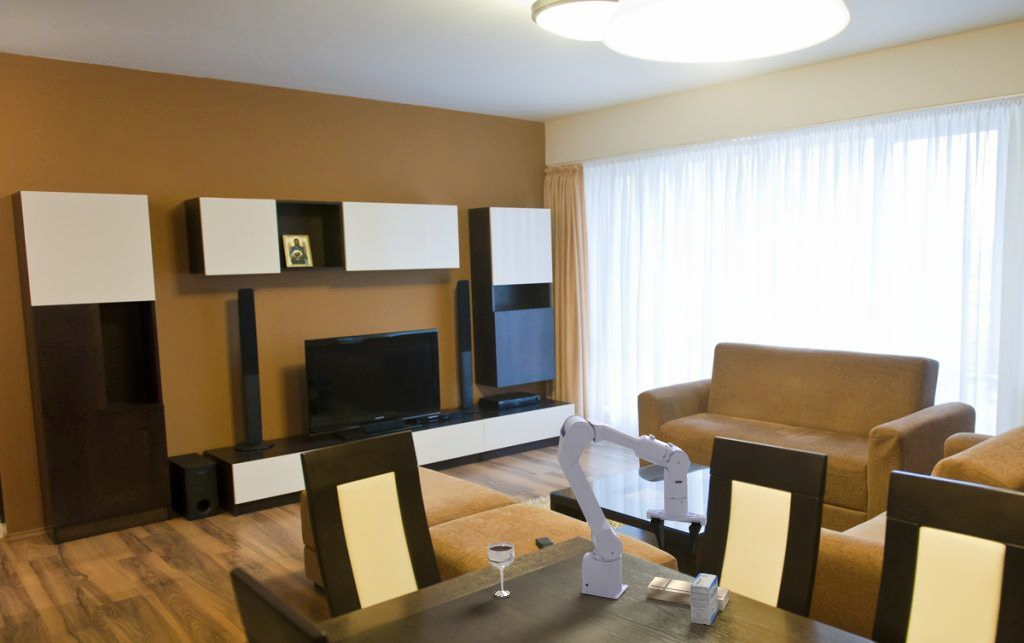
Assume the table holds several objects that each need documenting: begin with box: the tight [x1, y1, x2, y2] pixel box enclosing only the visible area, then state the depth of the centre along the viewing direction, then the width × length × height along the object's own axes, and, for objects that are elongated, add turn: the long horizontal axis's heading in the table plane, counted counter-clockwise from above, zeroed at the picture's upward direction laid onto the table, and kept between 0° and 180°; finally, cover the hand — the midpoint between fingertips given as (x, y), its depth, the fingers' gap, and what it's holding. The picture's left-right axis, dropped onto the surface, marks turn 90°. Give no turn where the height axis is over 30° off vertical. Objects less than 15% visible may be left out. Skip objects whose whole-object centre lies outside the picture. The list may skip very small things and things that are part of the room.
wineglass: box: [487, 541, 516, 597], centre depth 188 cm, size 7×7×12 cm
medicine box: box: [690, 572, 719, 626], centre depth 173 cm, size 8×4×9 cm, turn 153°
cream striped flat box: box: [646, 576, 730, 611], centre depth 183 cm, size 18×7×3 cm, turn 63°
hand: (676, 550), depth 189 cm, fingers open, 7 cm apart
